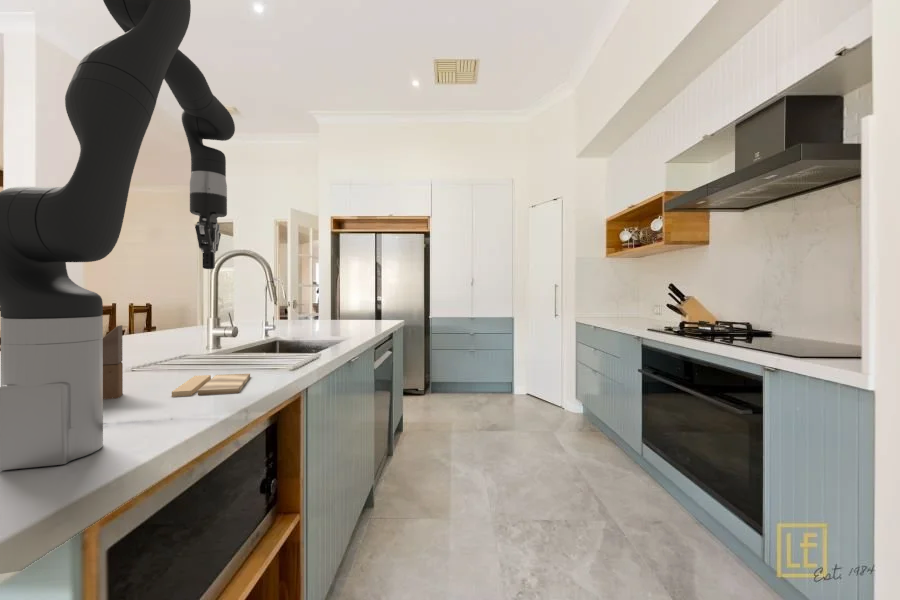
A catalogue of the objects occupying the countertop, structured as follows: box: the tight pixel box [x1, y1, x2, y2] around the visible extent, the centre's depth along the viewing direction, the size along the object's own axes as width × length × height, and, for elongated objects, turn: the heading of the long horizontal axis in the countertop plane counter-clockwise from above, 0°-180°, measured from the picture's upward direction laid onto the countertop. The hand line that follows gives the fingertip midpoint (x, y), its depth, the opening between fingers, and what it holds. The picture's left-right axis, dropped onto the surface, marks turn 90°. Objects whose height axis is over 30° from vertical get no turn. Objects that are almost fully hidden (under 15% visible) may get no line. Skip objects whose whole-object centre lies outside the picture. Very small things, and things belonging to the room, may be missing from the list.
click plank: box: [197, 373, 251, 396], centre depth 88 cm, size 16×7×1 cm, turn 18°
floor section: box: [171, 374, 212, 398], centre depth 88 cm, size 17×12×2 cm
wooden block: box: [103, 324, 124, 400], centre depth 76 cm, size 4×11×18 cm, turn 118°
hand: (208, 268), depth 97 cm, fingers closed
